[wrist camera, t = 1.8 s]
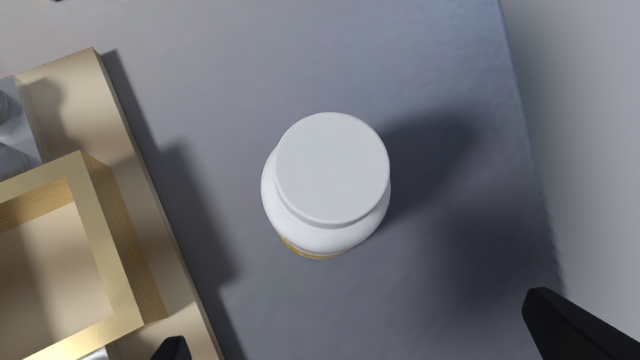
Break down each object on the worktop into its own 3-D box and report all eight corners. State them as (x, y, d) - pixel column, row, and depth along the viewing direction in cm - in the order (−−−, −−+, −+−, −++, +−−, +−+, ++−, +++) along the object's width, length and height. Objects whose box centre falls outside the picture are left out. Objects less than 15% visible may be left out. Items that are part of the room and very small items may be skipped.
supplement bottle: (322, 153, 22) (337, 64, 13) (382, 218, 22) (444, 172, 12) (254, 209, 21) (217, 155, 12) (315, 280, 20) (325, 282, 11)
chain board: (262, 451, 18) (260, 461, 17) (17, 597, 16) (0, 618, 15) (100, 56, 23) (91, 46, 22) (-99, 131, 22) (-118, 124, 21)
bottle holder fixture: (222, 457, 17) (206, 493, 14) (29, 570, 16) (-32, 636, 13) (72, 68, 22) (38, 37, 19) (-85, 128, 21) (-149, 104, 18)
